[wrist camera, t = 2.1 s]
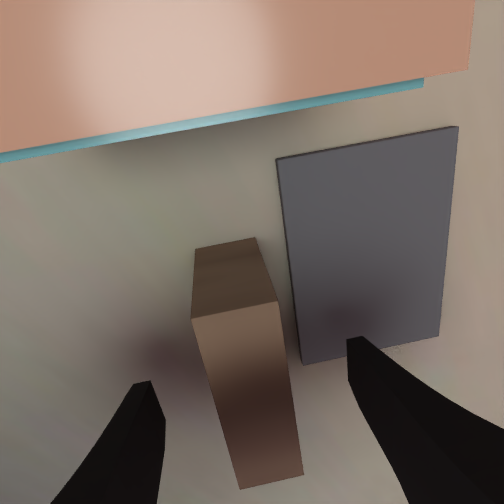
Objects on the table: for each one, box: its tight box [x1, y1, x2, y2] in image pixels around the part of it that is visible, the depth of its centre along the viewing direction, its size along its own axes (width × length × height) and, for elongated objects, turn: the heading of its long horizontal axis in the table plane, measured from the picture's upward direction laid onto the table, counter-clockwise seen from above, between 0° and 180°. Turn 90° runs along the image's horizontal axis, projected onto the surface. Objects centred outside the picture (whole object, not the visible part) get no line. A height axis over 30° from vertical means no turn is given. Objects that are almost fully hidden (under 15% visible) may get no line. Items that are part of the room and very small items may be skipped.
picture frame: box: [0, 0, 475, 163], centre depth 8 cm, size 2×8×8 cm, turn 99°
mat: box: [276, 126, 459, 366], centre depth 15 cm, size 10×7×1 cm
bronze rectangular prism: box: [191, 237, 304, 490], centre depth 13 cm, size 8×2×5 cm, turn 9°
